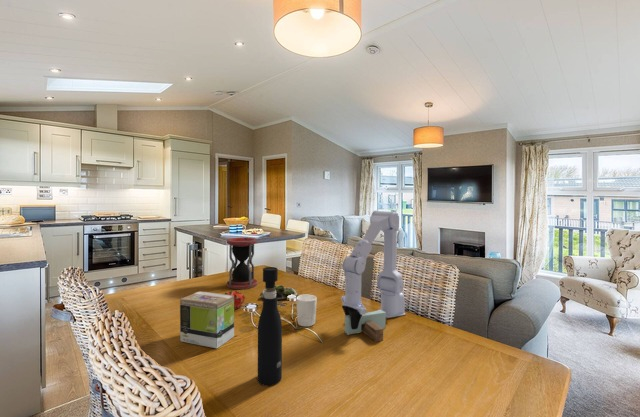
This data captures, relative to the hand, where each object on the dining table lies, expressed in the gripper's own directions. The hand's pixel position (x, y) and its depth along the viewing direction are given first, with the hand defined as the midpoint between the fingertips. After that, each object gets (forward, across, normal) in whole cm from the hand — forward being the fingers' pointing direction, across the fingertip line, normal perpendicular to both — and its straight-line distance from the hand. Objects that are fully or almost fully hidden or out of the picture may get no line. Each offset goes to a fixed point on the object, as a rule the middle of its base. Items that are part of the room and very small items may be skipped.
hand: (352, 327), depth 111 cm
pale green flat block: (+2, 0, +5) cm, 6 cm away
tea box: (+2, -14, -48) cm, 51 cm away
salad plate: (+3, -49, -14) cm, 51 cm away
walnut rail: (+2, 0, +6) cm, 6 cm away
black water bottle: (+2, +16, -34) cm, 38 cm away
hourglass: (+2, -73, -28) cm, 78 cm away
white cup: (+2, -14, -12) cm, 19 cm away
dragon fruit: (+2, -40, -36) cm, 54 cm away
